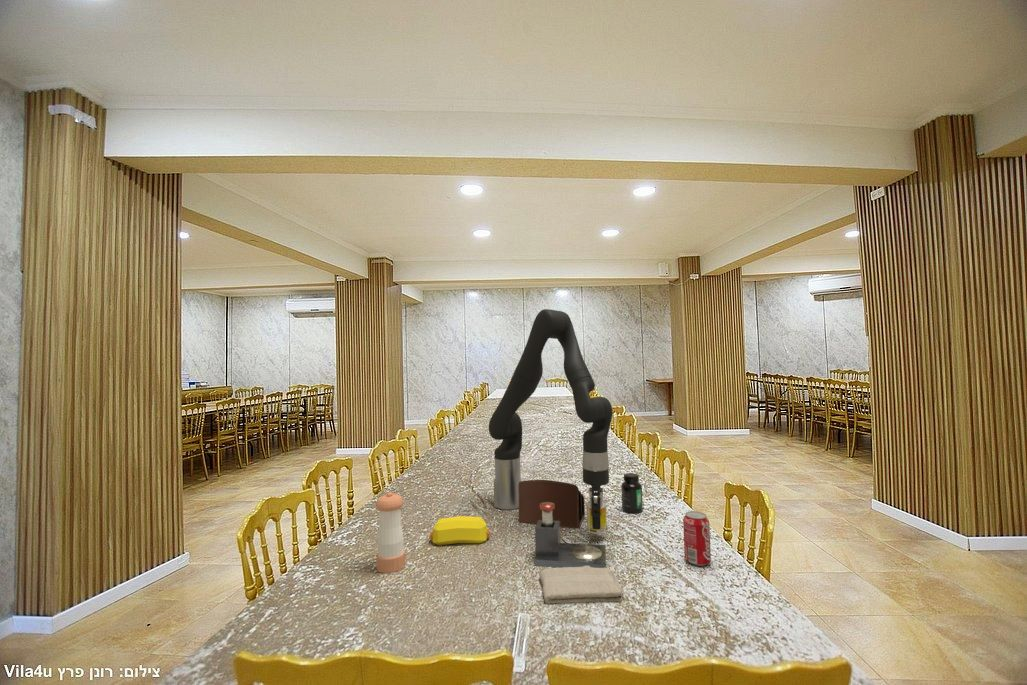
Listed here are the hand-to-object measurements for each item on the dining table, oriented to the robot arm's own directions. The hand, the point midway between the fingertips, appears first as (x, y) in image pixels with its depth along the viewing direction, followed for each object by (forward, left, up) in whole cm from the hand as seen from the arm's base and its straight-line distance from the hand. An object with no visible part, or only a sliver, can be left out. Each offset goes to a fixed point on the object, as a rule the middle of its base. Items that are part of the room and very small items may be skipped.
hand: (596, 524), depth 131 cm
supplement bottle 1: (0, 0, -2) cm, 2 cm away
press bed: (-7, -13, -4) cm, 15 cm away
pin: (-13, -13, +2) cm, 18 cm away
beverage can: (+25, -11, -4) cm, 28 cm away
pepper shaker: (-53, -24, -4) cm, 58 cm away
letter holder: (-15, +13, -5) cm, 20 cm away
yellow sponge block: (-40, -6, -5) cm, 40 cm away
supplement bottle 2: (+11, +25, -4) cm, 28 cm away
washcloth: (-3, -29, -5) cm, 29 cm away
